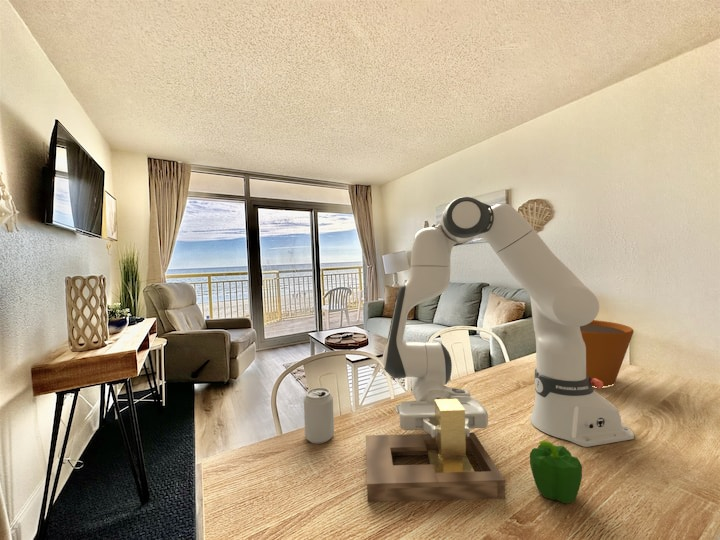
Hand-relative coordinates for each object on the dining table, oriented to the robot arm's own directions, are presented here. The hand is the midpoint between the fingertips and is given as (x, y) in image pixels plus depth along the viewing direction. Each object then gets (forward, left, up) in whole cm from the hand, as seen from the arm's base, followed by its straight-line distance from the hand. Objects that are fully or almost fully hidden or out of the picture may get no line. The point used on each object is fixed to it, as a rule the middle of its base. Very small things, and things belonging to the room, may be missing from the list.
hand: (451, 433), depth 65 cm
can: (+30, -15, -9) cm, 35 cm away
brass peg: (0, -1, -8) cm, 8 cm away
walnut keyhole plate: (+5, -1, -8) cm, 10 cm away
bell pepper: (-18, +6, -9) cm, 21 cm away
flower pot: (-63, -46, -9) cm, 78 cm away
